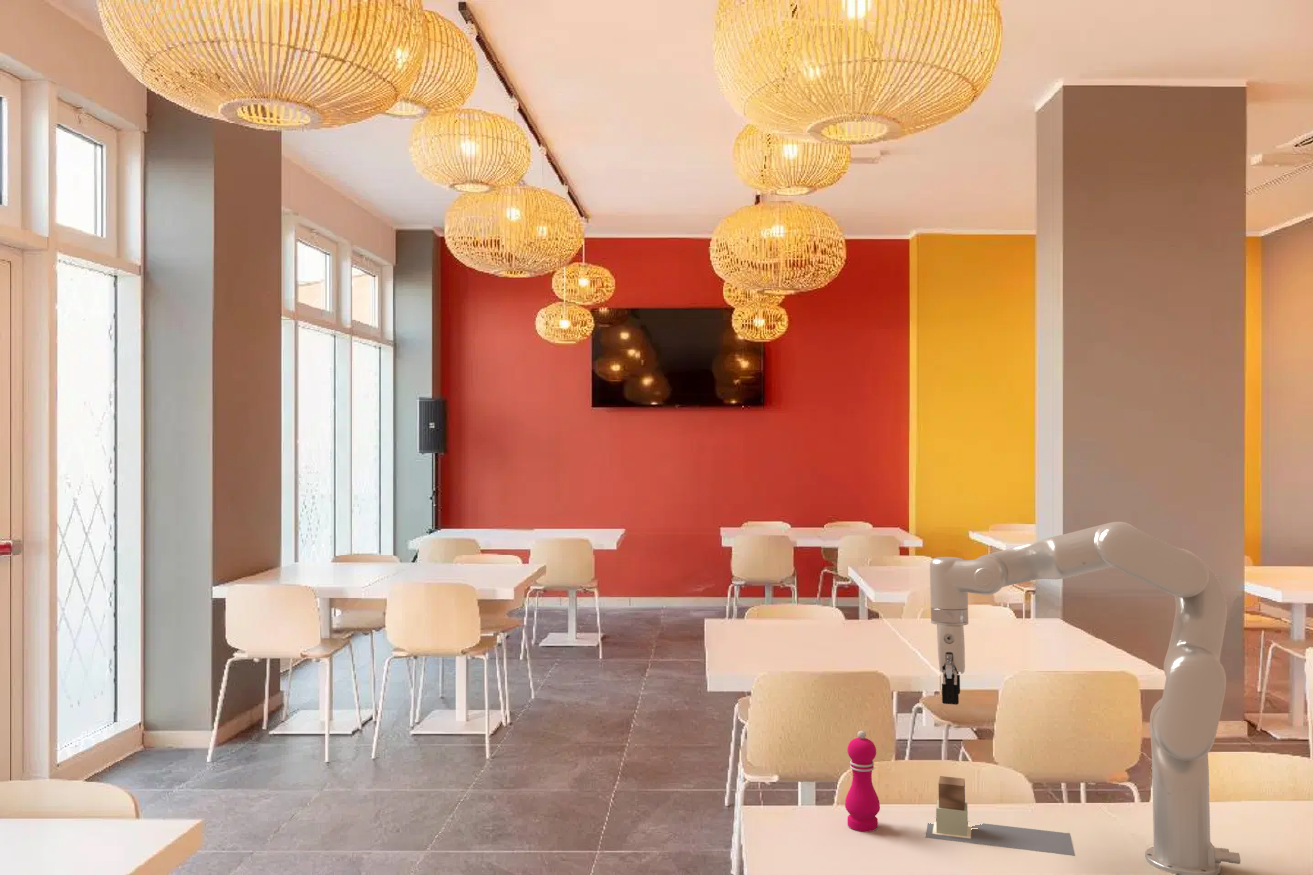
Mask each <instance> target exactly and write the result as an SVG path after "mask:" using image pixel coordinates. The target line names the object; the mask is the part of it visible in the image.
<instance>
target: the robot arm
mask: <svg viewBox="0 0 1313 875" xmlns="http://www.w3.org/2000/svg"><path fill="white" fill-rule="evenodd" d="M1110 568H1115V569H1117V570H1119V571H1121V572H1123V573H1125V574H1127V575H1129V576H1131V577H1133V578H1135V579H1137V580H1139V581H1142V582H1144V583H1146V584H1148V585H1150V586H1152V587H1154V588H1156V589H1158V590H1159V591H1160V590H1161V591H1163V592H1164V593H1166V594H1169V595H1172V596H1174V600H1175V602H1174V603H1175V613H1174V618H1173V624H1172V626H1173V627H1172V630H1171V633H1170V634H1171V636H1170V639H1169V645H1168V648H1167V651H1166V655H1165V657H1164V660H1163V671H1164V675H1165V682H1164V688H1163V691H1162V697H1161V698H1160V699H1159V700H1157V702H1155V703H1154V705H1153V707H1152V708H1151V712H1150V714H1149V716H1150V717H1149V732H1150V744H1151V746H1150V747H1151V769H1152V770H1151V775H1152V776H1151V777H1152V778H1151V779H1152V781H1151V782H1152V786H1151V788H1152V817H1153V818H1152V822H1153V823H1152V825H1153V827H1152V828H1153V829H1152V830H1153V846H1152V847H1149V848H1147V849H1146V850H1145V852H1144V858H1145V860H1146V862H1147V863H1148V864H1150V865H1151V866H1153V867H1155V868H1157V869H1158V870H1162V871H1164V872H1167V873H1171V874H1175V875H1219V874H1220V873H1221V870H1222V869H1221V863H1222V862H1224V863H1229V864H1236V865H1240V864H1241V856H1240V853H1239V852H1234V851H1230V850H1229V848H1226V847H1225V848H1224V847H1215V845H1213V844H1212V842H1211V820H1210V819H1211V813H1210V812H1211V810H1210V808H1211V807H1210V769H1209V768H1210V767H1209V765H1210V764H1209V752H1210V751H1211V749H1212V748H1213V746H1214V744H1215V739H1216V736H1217V733H1218V732H1217V731H1218V728H1219V723H1220V719H1221V715H1222V710H1223V705H1224V700H1225V695H1226V690H1227V689H1226V688H1227V675H1226V670H1225V668H1224V666H1223V664H1222V663H1221V654H1222V648H1223V642H1224V639H1225V638H1224V637H1225V631H1226V630H1225V629H1226V626H1227V625H1226V624H1227V618H1228V605H1227V604H1228V603H1227V597H1226V594H1225V590H1224V588H1223V585H1222V583H1221V582H1220V580H1219V578H1218V576H1217V575H1216V573H1215V572H1214V571H1213V569H1212V568H1211V567H1210V566H1209V565H1208V564H1207V563H1206V562H1205V561H1204V560H1202V559H1201V558H1200V557H1199V556H1198V555H1196V553H1194V552H1192V551H1190V550H1189V549H1185V548H1181V547H1177V546H1175V545H1172V544H1170V543H1168V542H1166V541H1164V540H1161V539H1159V538H1156V537H1155V536H1153V535H1150V534H1148V533H1146V532H1145V531H1143V530H1141V529H1138V528H1136V527H1135V526H1134V525H1132V524H1130V523H1128V522H1125V521H1112V522H1107V523H1103V524H1100V525H1099V524H1098V525H1096V526H1091V527H1087V528H1084V529H1079V530H1076V531H1071V532H1068V533H1064V534H1059V535H1055V536H1052V537H1047V538H1044V539H1041V540H1038V541H1035V542H1032V543H1028V544H1024V545H1019V546H1016V547H1012V548H1007V549H1004V550H999V551H995V552H992V553H988V554H984V555H981V556H979V557H977V558H975V559H963V557H962V558H961V557H956V556H938V557H934V558H932V559H931V560H930V562H929V586H930V587H929V589H930V590H929V591H930V623H931V624H932V625H936V633H937V634H936V635H937V636H936V639H937V640H936V642H937V656H938V665H939V672H941V673H942V683H941V700H942V701H941V702H942V704H943V705H944V704H945V705H956V706H957V705H958V704H959V703H960V702H959V701H960V700H959V697H960V696H959V695H960V693H961V675H963V674H964V673H965V670H966V653H965V630H964V626H966V625H969V601H968V600H969V598H968V597H969V596H968V593H969V594H974V595H975V594H976V595H983V596H991V595H994V594H997V593H998V592H999V591H1000V590H1002V588H1005V587H1009V586H1014V585H1017V584H1020V583H1021V584H1022V583H1025V582H1031V581H1036V580H1063V579H1064V580H1065V579H1069V578H1072V577H1077V576H1080V575H1084V574H1089V573H1092V572H1097V571H1101V570H1107V569H1110ZM959 673H960V674H961V675H960V674H959Z"/></svg>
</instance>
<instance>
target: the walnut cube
mask: <svg viewBox="0 0 1313 875" xmlns="http://www.w3.org/2000/svg"><path fill="white" fill-rule="evenodd" d="M938 799H939V808H945V809H954V810H963V811H964V808H965V802H966V779H965V778H961V777H953V776H952V777H951V776H943V775H942V776H941V775H940V776H939V779H938Z"/></svg>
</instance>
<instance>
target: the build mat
mask: <svg viewBox="0 0 1313 875" xmlns="http://www.w3.org/2000/svg"><path fill="white" fill-rule="evenodd" d="M982 823H983V822H982ZM926 826H927V827H926V831H925V838H927V839H935V840H943V841H949V842H950V841H951V842H959V843H966V844H968V843H969V844H975V845H983V846H984V845H985V846H990V847H991V846H992V847H999V848H1006V849H1007V848H1008V849H1017V850H1025V851H1030V852H1031V851H1032V852H1041V853H1048V854H1056V855H1057V854H1058V855H1064V856H1072V857H1074V856H1075V855H1076V854H1075V850H1074V845H1073V841H1072V838H1071V837H1072V836H1071V833H1070V832H1061V831H1055V830H1054V831H1053V830H1052V831H1051V830H1043V829H1036V828H1027V827H1019V826H1009V825H999V824H993V823H991V824H990V823H983V824H982V825H981V824H980V825H975V826H972V827H971V825H968V830H967V836H959V835H951V834H942V833H937V830H936V822H934V824H931V823H930V824H929V823H928V822H927V825H926ZM971 828H978V829H972V830H971Z"/></svg>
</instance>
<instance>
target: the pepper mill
mask: <svg viewBox="0 0 1313 875" xmlns="http://www.w3.org/2000/svg"><path fill="white" fill-rule="evenodd" d="M847 754H848V757H849V758H850V761H849V764H850V765H849V769H851V771H852V781H851V785H850V787H849V789H848V791H847V793H846V797H845V800H844V808H845V810H846V811H847V813H848V814H849V815H847V826H848V827H849V829H851V830H854V831H856V830H857V832H865V833H866V832H873V830H874V831H876V830H877V829H878V828H879V827H878V826H879V824H878V823H879V822H878V821H879V820H878V817H877V815H878V813H880V811H881V810H880V809H881V806H880V800H879V796H878V794H877V792H876V790H875V787H874V784H873V778H872V776H873V775H872V774H873V771H874V769H875V766H874V765H875V762H874V759H875V758H876V756H877V747H876V745H875V743H874V742H873V741H872V740H871V739H869V738H867V734H866V732H865V731H863V730H859V731H858V732H857V737H855V738H853V739H851V740H850V741H849V743H848V746H847ZM876 828H877V829H876ZM875 829H876V830H875Z"/></svg>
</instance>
